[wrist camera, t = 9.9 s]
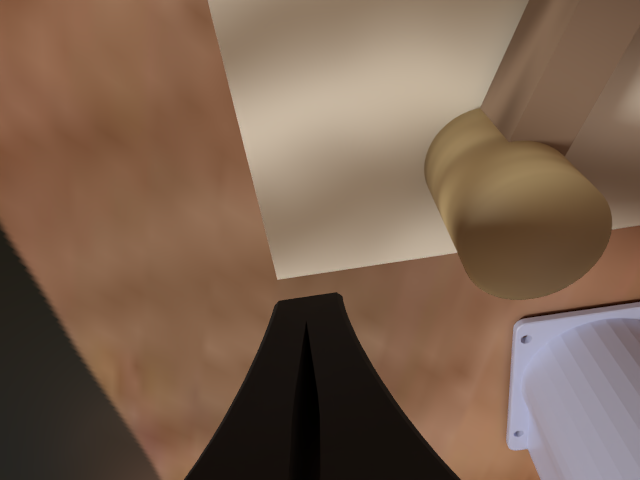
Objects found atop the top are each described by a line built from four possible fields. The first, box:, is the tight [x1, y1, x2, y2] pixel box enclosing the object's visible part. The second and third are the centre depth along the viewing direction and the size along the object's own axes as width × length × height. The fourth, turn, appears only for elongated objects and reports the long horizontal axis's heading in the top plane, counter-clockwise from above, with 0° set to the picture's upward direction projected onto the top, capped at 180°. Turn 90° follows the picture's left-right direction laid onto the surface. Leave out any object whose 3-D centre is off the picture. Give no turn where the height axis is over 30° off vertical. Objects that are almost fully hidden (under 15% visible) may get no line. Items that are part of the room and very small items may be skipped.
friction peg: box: [424, 0, 640, 300], centre depth 14 cm, size 15×4×5 cm, turn 164°
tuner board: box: [208, 0, 640, 280], centre depth 17 cm, size 18×16×1 cm
